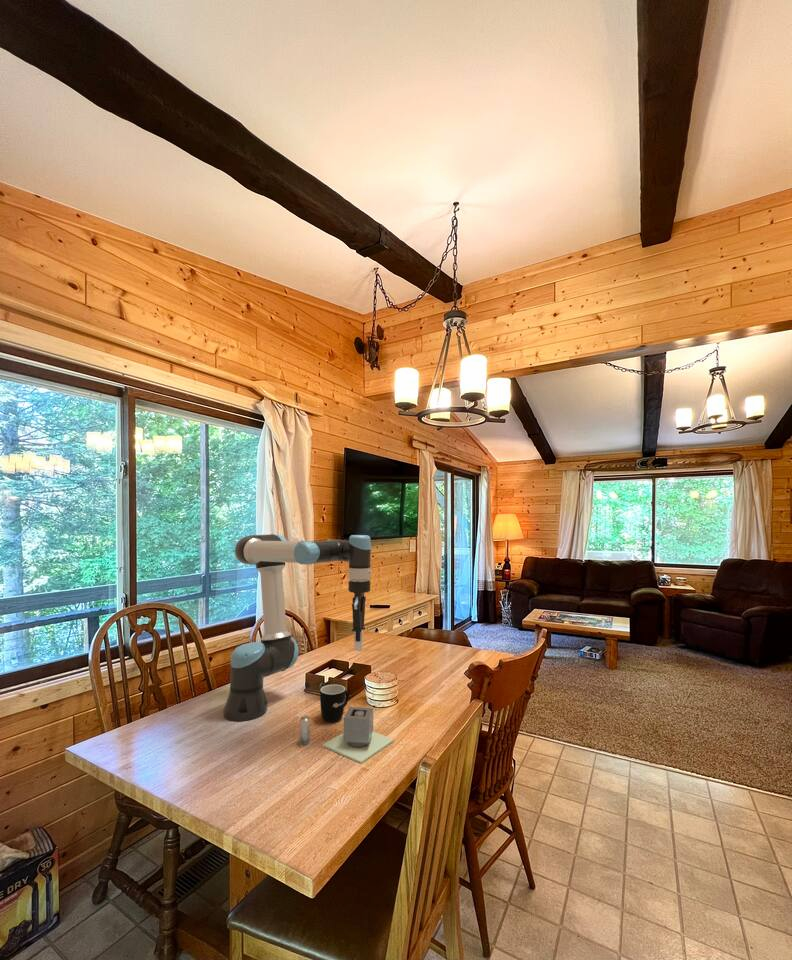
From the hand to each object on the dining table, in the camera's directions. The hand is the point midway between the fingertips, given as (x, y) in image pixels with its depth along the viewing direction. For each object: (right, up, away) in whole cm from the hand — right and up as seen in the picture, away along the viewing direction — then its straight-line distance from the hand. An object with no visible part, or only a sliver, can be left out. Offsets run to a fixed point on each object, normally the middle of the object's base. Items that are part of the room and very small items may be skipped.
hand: (358, 650), depth 148 cm
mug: (-9, -27, +8) cm, 30 cm away
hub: (+1, -26, -11) cm, 28 cm away
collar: (+1, -23, -10) cm, 25 cm away
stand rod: (-16, -25, -10) cm, 32 cm away
